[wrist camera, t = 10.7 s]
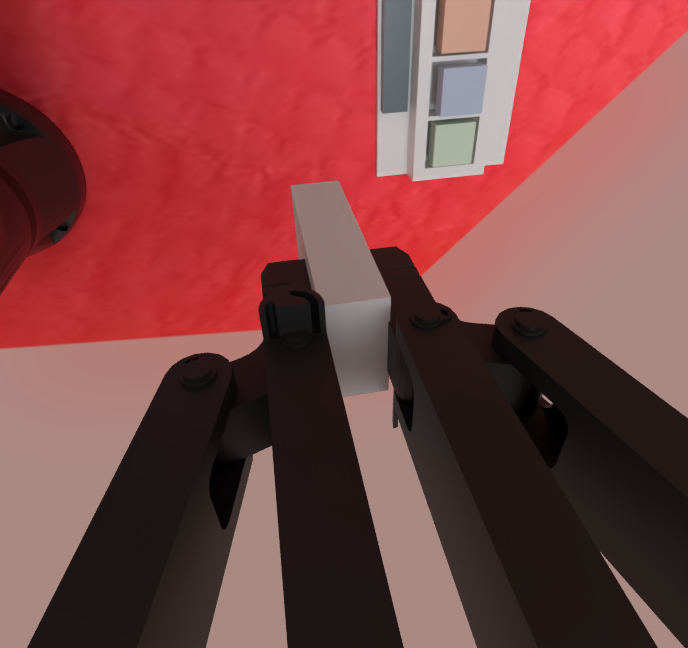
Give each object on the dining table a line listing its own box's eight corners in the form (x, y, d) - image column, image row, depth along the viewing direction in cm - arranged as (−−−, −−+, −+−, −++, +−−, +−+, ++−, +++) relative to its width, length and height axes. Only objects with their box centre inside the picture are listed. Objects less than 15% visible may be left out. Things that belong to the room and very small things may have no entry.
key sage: (425, 158, 50) (432, 167, 48) (427, 118, 47) (436, 125, 46) (461, 155, 50) (470, 163, 48) (466, 115, 48) (476, 121, 46)
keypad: (376, 174, 51) (382, 184, 49) (377, -102, 37) (385, -105, 35) (500, 161, 53) (512, 170, 50) (544, -108, 39) (563, -111, 37)
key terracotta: (432, 49, 44) (441, 53, 42) (435, -4, 41) (445, -2, 39) (474, 46, 44) (485, 50, 42) (480, -7, 42) (492, -5, 40)
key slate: (431, 110, 46) (440, 117, 44) (434, 63, 44) (444, 68, 42) (471, 106, 47) (481, 113, 45) (476, 60, 44) (487, 65, 42)
